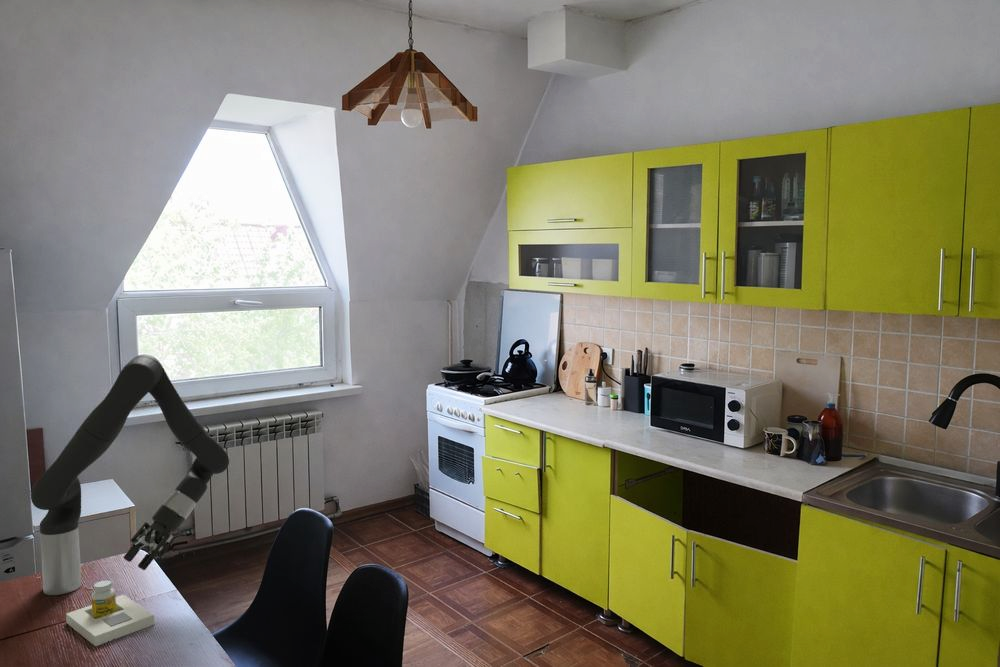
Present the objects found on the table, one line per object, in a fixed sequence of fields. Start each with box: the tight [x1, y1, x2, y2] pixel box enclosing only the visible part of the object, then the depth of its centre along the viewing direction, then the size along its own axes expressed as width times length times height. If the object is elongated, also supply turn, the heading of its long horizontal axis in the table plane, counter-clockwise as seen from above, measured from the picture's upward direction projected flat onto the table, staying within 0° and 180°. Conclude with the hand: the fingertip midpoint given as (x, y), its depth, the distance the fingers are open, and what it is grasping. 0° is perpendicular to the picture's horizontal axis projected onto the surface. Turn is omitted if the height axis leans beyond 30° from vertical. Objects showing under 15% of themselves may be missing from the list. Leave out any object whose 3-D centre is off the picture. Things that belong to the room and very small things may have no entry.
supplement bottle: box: [91, 580, 117, 619], centre depth 184 cm, size 5×5×10 cm
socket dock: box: [65, 594, 156, 647], centre depth 182 cm, size 18×14×3 cm
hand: (133, 564), depth 189 cm, fingers open, 8 cm apart
